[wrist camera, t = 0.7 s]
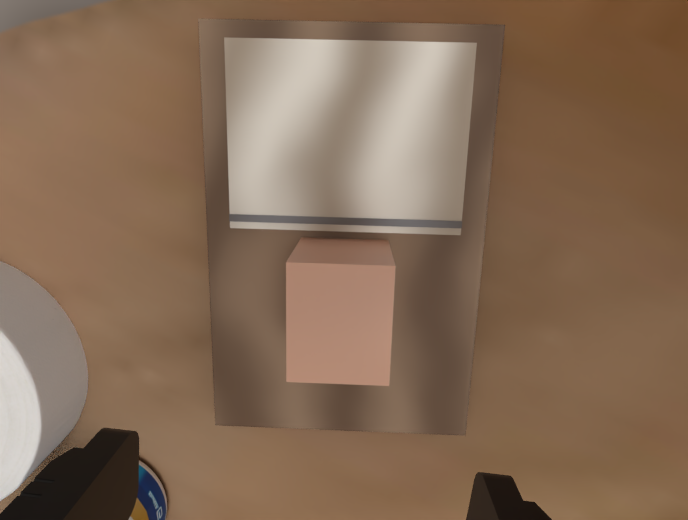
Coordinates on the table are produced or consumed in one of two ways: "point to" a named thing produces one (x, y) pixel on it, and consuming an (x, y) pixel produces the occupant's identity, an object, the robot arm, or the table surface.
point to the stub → (339, 311)
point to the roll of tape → (35, 376)
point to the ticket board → (347, 204)
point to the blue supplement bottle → (149, 497)
